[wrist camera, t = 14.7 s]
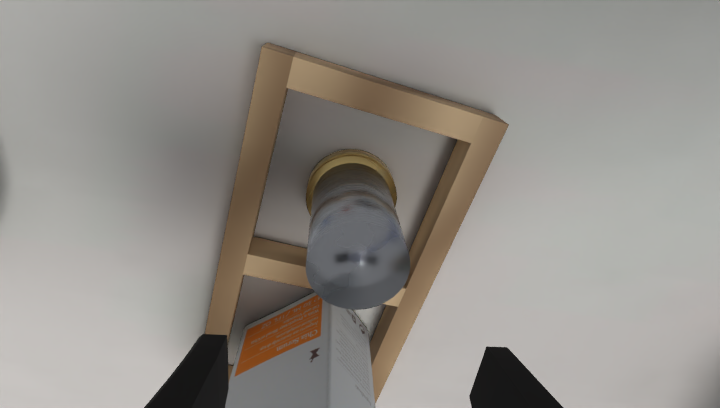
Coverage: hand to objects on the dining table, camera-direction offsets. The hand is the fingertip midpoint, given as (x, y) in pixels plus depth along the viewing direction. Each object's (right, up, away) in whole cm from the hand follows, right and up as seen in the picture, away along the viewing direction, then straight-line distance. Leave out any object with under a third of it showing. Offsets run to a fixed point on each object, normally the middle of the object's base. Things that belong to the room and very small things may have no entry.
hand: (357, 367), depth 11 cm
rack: (-2, +1, +10) cm, 10 cm away
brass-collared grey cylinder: (0, +5, +8) cm, 10 cm away
